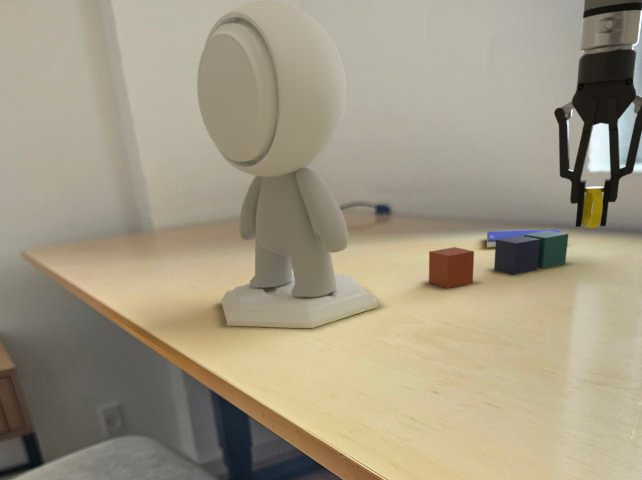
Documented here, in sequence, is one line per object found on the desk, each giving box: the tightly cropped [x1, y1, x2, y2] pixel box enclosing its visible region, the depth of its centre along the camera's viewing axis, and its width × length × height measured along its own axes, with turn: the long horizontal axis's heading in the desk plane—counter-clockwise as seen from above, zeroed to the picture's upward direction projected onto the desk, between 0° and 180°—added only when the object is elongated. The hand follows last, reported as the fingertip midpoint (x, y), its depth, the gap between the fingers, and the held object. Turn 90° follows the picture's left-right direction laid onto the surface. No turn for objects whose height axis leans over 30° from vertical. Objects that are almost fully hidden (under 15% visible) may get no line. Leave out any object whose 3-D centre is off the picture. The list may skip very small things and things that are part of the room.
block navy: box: [493, 236, 540, 275], centre depth 99 cm, size 4×4×4 cm
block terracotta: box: [428, 246, 475, 289], centre depth 94 cm, size 4×4×4 cm
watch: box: [582, 186, 604, 229], centre depth 102 cm, size 6×3×6 cm, turn 173°
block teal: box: [524, 231, 569, 270], centre depth 101 cm, size 4×4×4 cm
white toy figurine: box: [196, 0, 379, 329], centre depth 82 cm, size 20×23×35 cm
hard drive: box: [486, 228, 560, 248], centre depth 117 cm, size 2×8×12 cm
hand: (590, 224), depth 103 cm, fingers closed on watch, 3 cm apart
